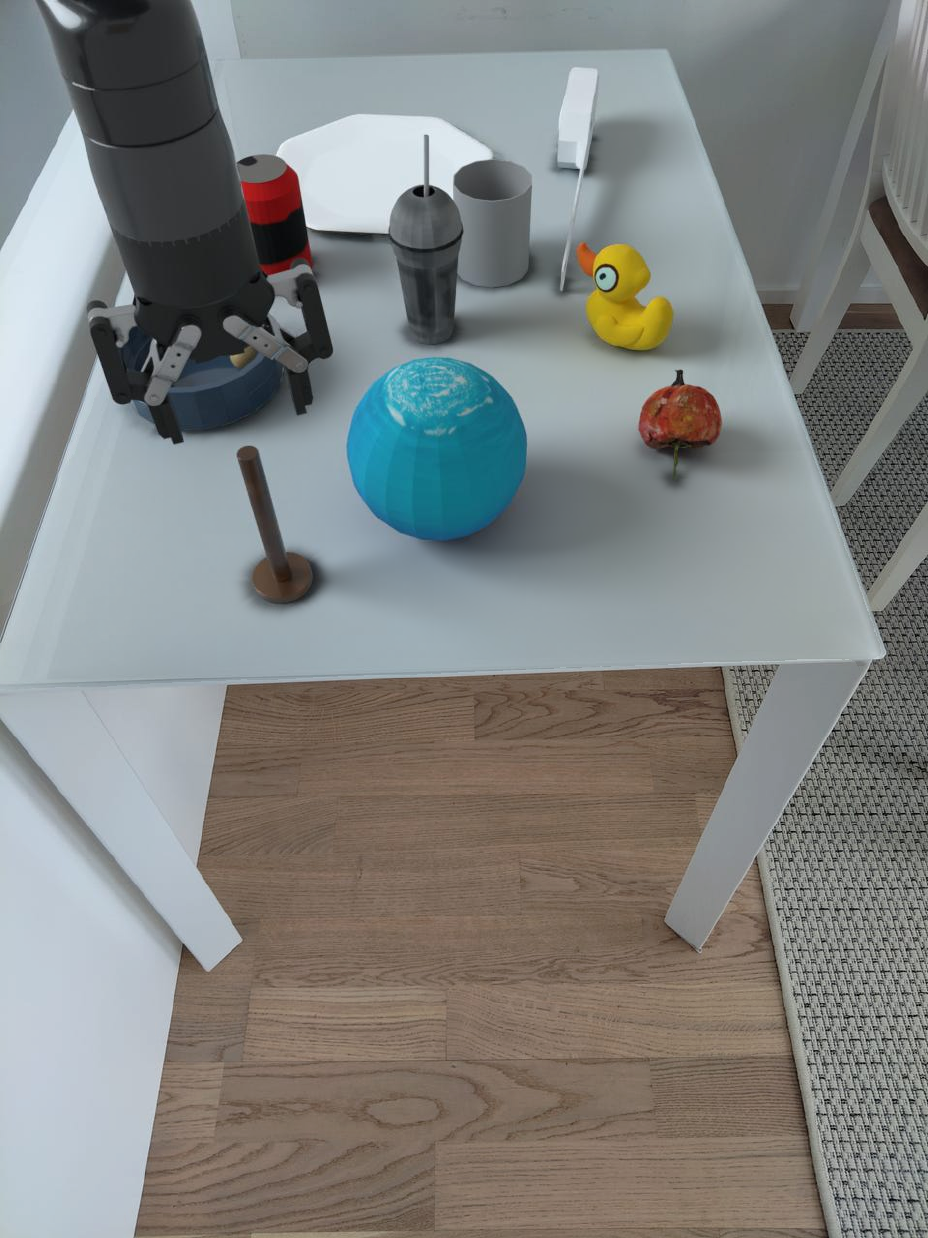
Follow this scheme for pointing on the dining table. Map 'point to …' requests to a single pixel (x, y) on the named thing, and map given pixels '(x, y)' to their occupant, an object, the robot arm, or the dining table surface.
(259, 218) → the soda can
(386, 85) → the dining table surface
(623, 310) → the duckling
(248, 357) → the bead
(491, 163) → the cup
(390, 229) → the beverage cup
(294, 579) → the stirrer
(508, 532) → the dining table surface
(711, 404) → the orange red pumpkin
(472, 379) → the decorative orb
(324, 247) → the dining table surface
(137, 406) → the bowl
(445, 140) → the plate
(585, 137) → the spatula
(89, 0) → the robot arm
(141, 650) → the dining table surface
